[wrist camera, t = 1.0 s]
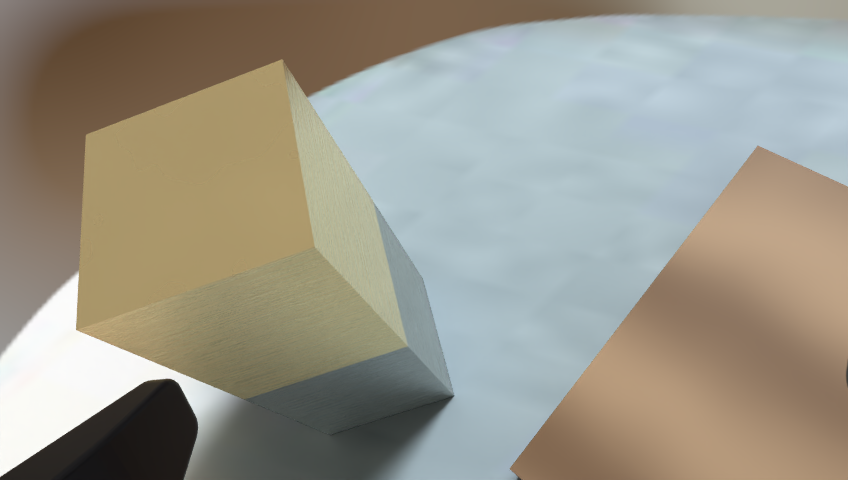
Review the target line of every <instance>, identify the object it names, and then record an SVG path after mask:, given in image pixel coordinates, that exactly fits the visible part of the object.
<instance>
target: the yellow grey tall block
mask: <svg viewBox="0 0 848 480" xmlns="http://www.w3.org/2000/svg"><path fill="white" fill-rule="evenodd" d="M76 330H77V331H80V332H82V333H85V334H87V335H90V336H92V337H94V338H97V339H99V340H102V341H104V342H107V343H109V344H111V345H114V346H116V347H119V348H121V349H123V350H126V351H128V352H131V353H133V354H136V355H138V356H140V357H143V358H145V359H148V360H150V361H152V362H155V363H157V364H160V365H162V366H165V367H167V368H169V369H172V370H174V371H177V372H179V373H182V374H184V375H186V376H189V377H191V378H194V379H196V380H198V381H201V382H203V383H206V384H208V385H211V386H213V387H215V388H218V389H220V390H223V391H225V392H228V393H230V394H232V395H235V396H237V397H240V398H242V399H244V400H247V401H249V402H252V403H254V404H257V405H259V406H261V407H264V408H266V409H269V410H271V411H274V412H276V413H278V414H281V415H283V416H286V417H288V418H290V419H293V420H295V421H298V422H300V423H303V424H305V425H307V426H310V427H312V428H315V429H317V430H319V431H322V432H324V433H327V434H329V435H331V434H334V433H337V432H340V431H344V430H347V429H350V428H353V427H356V426H360V425H363V424H366V423H369V422H372V421H376V420H379V419H382V418H385V417H388V416H391V415H395V414H398V413H401V412H404V411H407V410H411V409H414V408H417V407H420V406H423V405H427V404H430V403H433V402H436V401H439V400H443V399H446V398H449V397H452V396H454V393H453V389H452V386H451V382H450V378H449V374H448V371H447V367H446V363H445V359H444V356H443V352H442V348H441V345H440V341H439V337H438V333H437V330H436V326H435V322H434V319H433V315H432V311H431V307H430V304H429V300H428V296H427V293H426V289H425V285H424V281H423V278H422V277H421V275H420V274H419V272H418V271H417V269H416V267H415V266H414V264H413V263H412V261H411V260H410V258H409V256H408V255H407V253H406V252H405V250H404V249H403V247H402V246H401V244H400V242H399V241H398V239H397V238H396V236H395V235H394V233H393V232H392V230H391V228H390V227H389V225H388V224H387V222H386V221H385V219H384V217H383V216H382V214H381V213H380V211H379V210H378V208H377V207H376V205H375V203H374V202H373V200H372V199H371V197H370V196H369V194H368V193H367V191H366V189H365V188H364V186H363V185H362V183H361V182H360V180H359V178H358V177H357V175H356V174H355V172H354V171H353V169H352V168H351V166H350V164H349V163H348V161H347V160H346V158H345V157H344V155H343V154H342V152H341V150H340V149H339V147H338V146H337V144H336V143H335V141H334V139H333V138H332V136H331V135H330V133H329V132H328V130H327V129H326V127H325V125H324V124H323V122H322V121H321V119H320V118H319V116H318V115H317V113H316V111H315V110H314V108H313V107H312V105H311V104H310V102H309V100H308V99H307V97H306V96H305V94H304V93H303V91H302V90H301V88H300V87H299V85H298V83H297V82H296V80H295V79H294V77H293V76H292V74H291V72H290V71H289V69H288V68H287V66H286V65H285V63H284V62H283V60H279V61H277V62H274V63H272V64H269V65H266V66H264V67H261V68H259V69H256V70H253V71H251V72H248V73H246V74H243V75H240V76H238V77H235V78H233V79H230V80H227V81H225V82H222V83H220V84H217V85H214V86H212V87H209V88H207V89H204V90H201V91H199V92H196V93H194V94H191V95H188V96H186V97H183V98H180V99H178V100H175V101H173V102H170V103H168V104H165V105H162V106H160V107H157V108H154V109H152V110H149V111H147V112H144V113H142V114H139V115H136V116H134V117H131V118H128V119H126V120H123V121H121V122H118V123H115V124H113V125H111V126H108V127H105V128H103V129H100V130H98V131H95V132H92V133H89V134H87V135H86V146H85V165H84V185H83V206H82V224H81V244H80V264H79V283H78V303H77V323H76Z"/></svg>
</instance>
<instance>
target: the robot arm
mask: <svg viewBox="0 0 848 480" xmlns="http://www.w3.org/2000/svg"><path fill="white" fill-rule="evenodd" d="M846 382H847V387H848V361H847V368H846ZM197 433H198V422H197V418H196V416H195V414H194V412H193V410H192V408H191V406H190V404H189V402H188V401H187V399H186V397H185V395H184V393H183V391H182V389H181V387H180V386H179V384H178V383H177V382H176V381H174V380H172V379H160V380H150V381H146V382H144V383H142V384H141V385H139V386H138V387H136V388H134V389H133V390H131V391H130V392H128V393H127V394H125V395H124V396H122V397H121V398H119V399H118V400H116V401H115V402H113V403H112V404H110V405H109V406H107V407H106V408H104V409H103V410H101V411H100V412H98V413H97V414H95V415H94V416H92V417H91V418H89V419H87V420H86V421H84V422H83V423H81V424H80V425H78V426H77V427H75V428H74V429H72V430H71V431H69V432H68V433H66V434H65V435H63V436H62V437H60V438H59V439H57V440H56V441H54V442H53V443H51V444H50V445H48V446H47V447H45V448H44V449H42V450H40V451H39V452H37V453H36V454H34V455H33V456H31V457H30V458H28V459H27V460H25V461H24V462H22V463H21V464H19V465H18V466H16V467H15V468H13V469H12V470H10V471H9V472H7V473H6V474H4V475H3V476H1V477H0V480H184V477H185V474H186V470H187V467H188V464H189V460H190V457H191V454H192V451H193V447H194V444H195V441H196V438H197Z"/></svg>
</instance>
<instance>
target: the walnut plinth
mask: <svg viewBox="0 0 848 480" xmlns="http://www.w3.org/2000/svg"><path fill="white" fill-rule="evenodd" d="M847 361H848V187H847V186H845V185H843V184H841V183H839V182H836V181H834V180H832V179H830V178H828V177H825V176H823V175H821V174H819V173H817V172H814V171H812V170H810V169H808V168H806V167H803V166H801V165H799V164H797V163H795V162H792V161H790V160H788V159H786V158H784V157H781V156H779V155H777V154H775V153H773V152H770V151H768V150H766V149H764V148H762V147H759V146H757V147H756V149H755V150H754V151H753V153H752V154H751V155H750V157H749V158H748V159H747V161H746V162H745V163H744V164H743V166H742V167H741V168H740V170H739V171H738V172H737V174H736V175H735V176H734V177H733V179H732V180H731V181H730V183H729V184H728V185H727V187H726V188H725V189H724V190H723V192H722V193H721V194H720V196H719V197H718V198H717V200H716V201H715V202H714V203H713V205H712V206H711V207H710V209H709V210H708V211H707V213H706V214H705V215H704V216H703V218H702V219H701V220H700V222H699V223H698V224H697V226H696V227H695V228H694V229H693V231H692V232H691V233H690V235H689V236H688V237H687V239H686V240H685V241H684V243H683V244H682V245H681V246H680V248H679V249H678V250H677V252H676V253H675V254H674V256H673V257H672V258H671V259H670V261H669V262H668V263H667V265H666V266H665V267H664V269H663V270H662V271H661V272H660V274H659V275H658V276H657V278H656V279H655V280H654V282H653V283H652V284H651V285H650V287H649V288H648V289H647V291H646V292H645V293H644V295H643V296H642V297H641V298H640V300H639V301H638V302H637V304H636V305H635V306H634V308H633V309H632V310H631V311H630V313H629V314H628V315H627V317H626V318H625V319H624V321H623V322H622V323H621V325H620V326H619V327H618V328H617V330H616V331H615V332H614V334H613V335H612V336H611V338H610V339H609V340H608V341H607V343H606V344H605V345H604V347H603V348H602V349H601V351H600V352H599V353H598V354H597V356H596V357H595V358H594V360H593V361H592V362H591V364H590V365H589V366H588V367H587V369H586V370H585V371H584V373H583V374H582V375H581V377H580V378H579V379H578V380H577V382H576V383H575V384H574V386H573V387H572V388H571V390H570V391H569V392H568V393H567V395H566V396H565V397H564V399H563V400H562V401H561V403H560V404H559V405H558V406H557V408H556V409H555V410H554V412H553V413H552V414H551V416H550V417H549V418H548V420H547V421H546V422H545V423H544V425H543V426H542V427H541V429H540V430H539V431H538V433H537V434H536V435H535V436H534V438H533V439H532V440H531V442H530V443H529V444H528V446H527V447H526V448H525V449H524V451H523V452H522V453H521V455H520V456H519V457H518V459H517V460H516V461H515V462H514V464H513V465H512V466H511V468H510V470H511V471H513V472H514V473H515V474H516V475H517V476H518V477H519V478H520V479H522V480H848V387H847V382H846V368H847Z"/></svg>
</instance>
